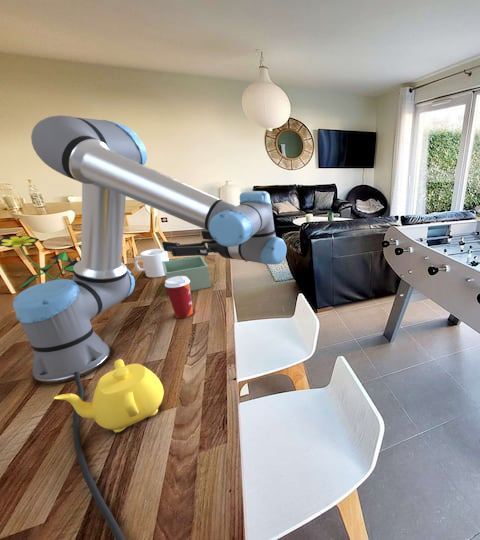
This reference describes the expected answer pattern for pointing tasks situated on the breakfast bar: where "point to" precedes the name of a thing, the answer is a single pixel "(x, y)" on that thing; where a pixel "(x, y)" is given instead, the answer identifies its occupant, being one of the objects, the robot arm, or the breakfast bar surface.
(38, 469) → the breakfast bar surface
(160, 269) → the mug
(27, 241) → the potted plant
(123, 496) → the breakfast bar surface
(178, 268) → the open storage box
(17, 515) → the breakfast bar surface
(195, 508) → the breakfast bar surface
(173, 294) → the paper cup
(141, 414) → the teapot
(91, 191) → the robot arm
